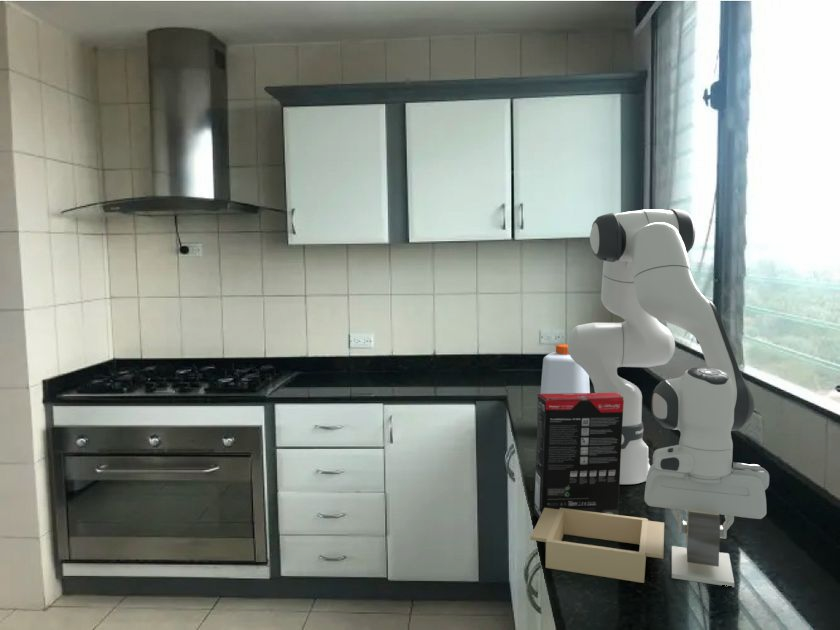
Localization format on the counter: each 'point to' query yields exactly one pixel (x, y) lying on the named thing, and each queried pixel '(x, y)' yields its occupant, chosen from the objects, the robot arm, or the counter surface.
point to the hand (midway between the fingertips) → (702, 534)
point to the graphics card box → (578, 452)
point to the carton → (598, 557)
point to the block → (703, 537)
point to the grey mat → (701, 569)
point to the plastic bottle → (563, 374)
